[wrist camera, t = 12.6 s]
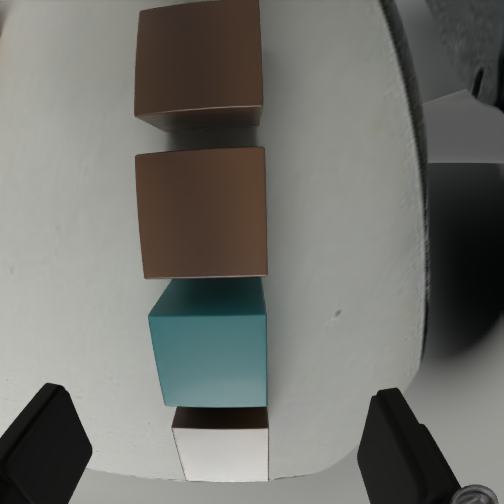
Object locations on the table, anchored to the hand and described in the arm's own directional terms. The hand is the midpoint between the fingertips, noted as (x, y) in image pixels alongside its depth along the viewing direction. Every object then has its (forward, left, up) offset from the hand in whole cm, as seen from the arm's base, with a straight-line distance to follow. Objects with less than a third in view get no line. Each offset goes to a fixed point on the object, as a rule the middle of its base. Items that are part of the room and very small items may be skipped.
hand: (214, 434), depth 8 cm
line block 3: (0, +6, -9) cm, 11 cm away
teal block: (+1, 0, -9) cm, 9 cm away
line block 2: (0, -6, -9) cm, 11 cm away
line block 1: (0, -12, -9) cm, 15 cm away
